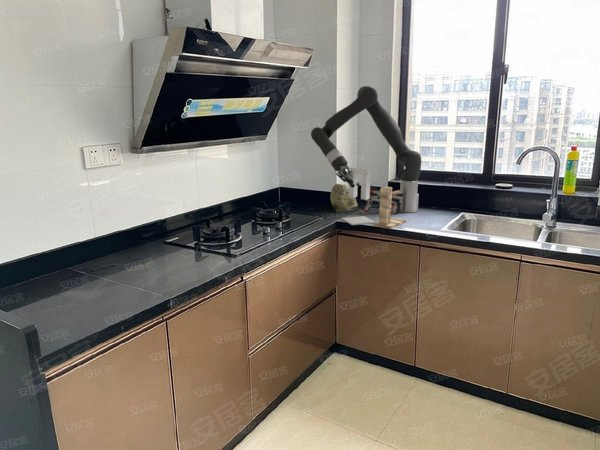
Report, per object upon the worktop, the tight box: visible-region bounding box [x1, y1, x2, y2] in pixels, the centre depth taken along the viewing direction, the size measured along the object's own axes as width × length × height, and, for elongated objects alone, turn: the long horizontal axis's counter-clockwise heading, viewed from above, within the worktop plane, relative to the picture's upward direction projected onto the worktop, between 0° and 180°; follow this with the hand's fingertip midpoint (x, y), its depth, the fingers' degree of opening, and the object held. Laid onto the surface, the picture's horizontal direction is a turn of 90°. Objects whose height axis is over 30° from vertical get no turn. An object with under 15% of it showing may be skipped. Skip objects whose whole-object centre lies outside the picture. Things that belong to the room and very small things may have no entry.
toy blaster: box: [359, 186, 403, 215], centre depth 240 cm, size 4×21×15 cm, turn 89°
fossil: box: [329, 183, 358, 212], centre depth 250 cm, size 9×18×15 cm, turn 137°
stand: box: [372, 186, 407, 230], centre depth 217 cm, size 17×9×19 cm, turn 141°
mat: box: [341, 215, 376, 226], centre depth 225 cm, size 13×13×1 cm
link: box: [348, 166, 372, 201], centre depth 221 cm, size 10×4×15 cm, turn 51°
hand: (355, 186), depth 222 cm, fingers closed on link, 3 cm apart
